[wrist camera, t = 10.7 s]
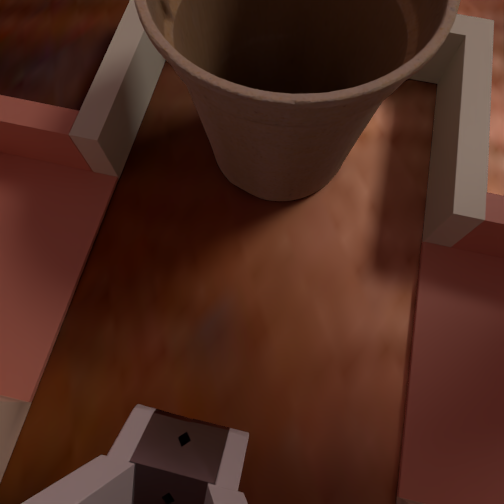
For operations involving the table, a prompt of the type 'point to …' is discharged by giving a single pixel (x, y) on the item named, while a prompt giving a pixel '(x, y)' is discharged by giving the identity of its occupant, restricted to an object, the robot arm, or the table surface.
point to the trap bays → (424, 328)
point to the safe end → (435, 71)
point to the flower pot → (292, 77)
